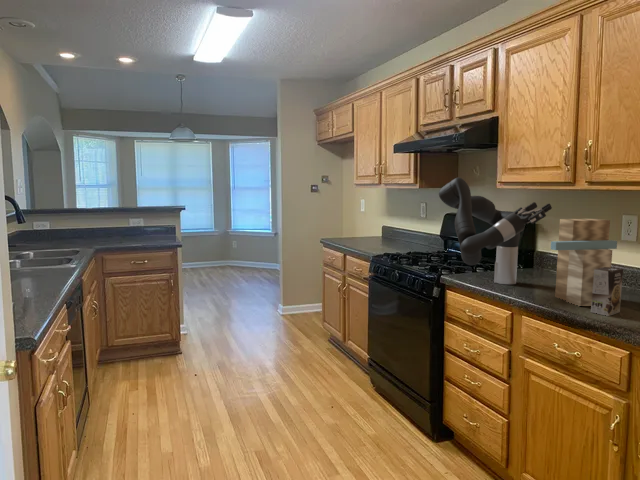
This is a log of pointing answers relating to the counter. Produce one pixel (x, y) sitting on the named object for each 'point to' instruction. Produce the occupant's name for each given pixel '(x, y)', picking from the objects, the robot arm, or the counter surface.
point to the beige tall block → (584, 273)
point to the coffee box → (607, 291)
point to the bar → (583, 245)
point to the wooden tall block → (576, 232)
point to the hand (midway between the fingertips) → (542, 204)
